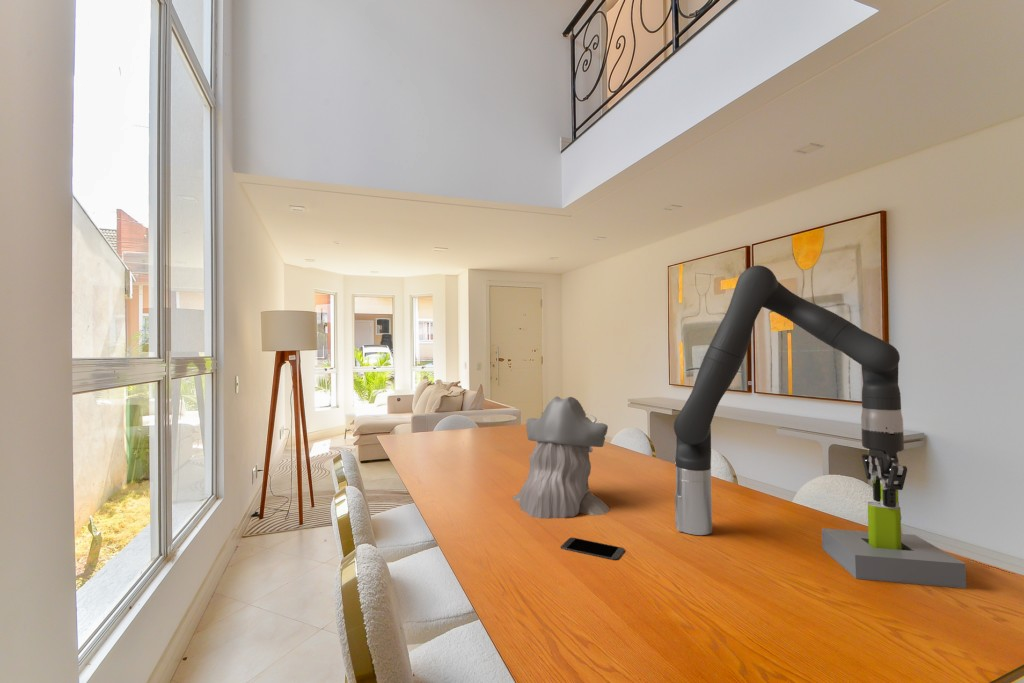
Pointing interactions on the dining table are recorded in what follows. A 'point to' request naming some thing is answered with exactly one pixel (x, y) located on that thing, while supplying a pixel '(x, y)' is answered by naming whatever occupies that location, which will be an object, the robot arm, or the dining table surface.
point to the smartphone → (593, 548)
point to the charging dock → (894, 560)
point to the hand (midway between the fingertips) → (884, 503)
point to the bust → (561, 462)
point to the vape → (884, 524)
